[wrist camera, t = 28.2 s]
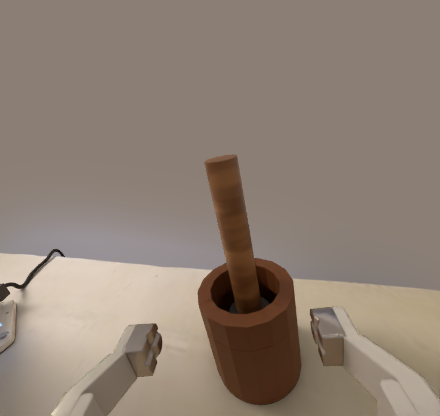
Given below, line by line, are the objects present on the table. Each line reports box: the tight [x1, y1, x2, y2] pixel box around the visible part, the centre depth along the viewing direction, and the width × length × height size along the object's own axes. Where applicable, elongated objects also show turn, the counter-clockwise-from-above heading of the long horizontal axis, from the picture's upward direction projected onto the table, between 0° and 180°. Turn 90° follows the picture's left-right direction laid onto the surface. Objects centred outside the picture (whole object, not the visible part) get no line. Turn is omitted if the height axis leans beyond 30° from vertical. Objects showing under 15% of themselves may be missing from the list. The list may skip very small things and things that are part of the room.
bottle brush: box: [205, 155, 269, 314], centre depth 23 cm, size 5×5×24 cm
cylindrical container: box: [198, 258, 301, 405], centre depth 26 cm, size 10×10×11 cm
